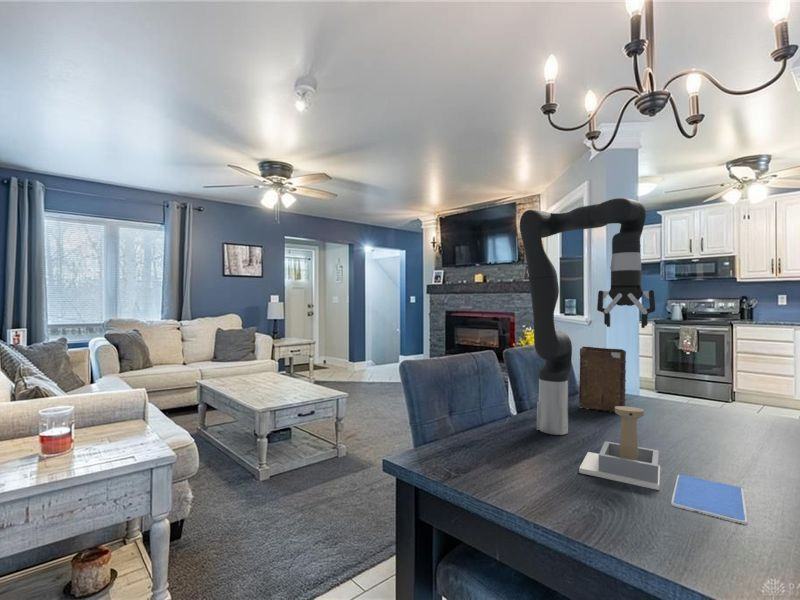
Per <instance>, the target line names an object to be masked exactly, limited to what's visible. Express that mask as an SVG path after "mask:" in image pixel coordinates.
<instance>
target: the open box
mask: <svg viewBox="0 0 800 600" xmlns="http://www.w3.org/2000/svg"><path fill="white" fill-rule="evenodd" d="M659 452H660V451H659V450H658V449H652V448H647V447H640V446H638V458H637V461H636V460H631V459H626V458H621V456H620V442H619V443H618V442H612V441H607V440H605V441H604V442H603V445H602V446H601V449H600V451H599V453H596V452H590V451H587V453H586V455H585V457H584V458H583V461H581V462H582V463H581V464H580V466H579V468H578V469H579V472H578V473H580V474H583V475H588V476H593V477H598V478H602V479H606V480H611V481H616V482H619V483H625V484H629V485H634V486H639V487H643V488H647V489H653V490H658V491H660V483H661V482H660V479H661V465H660V464H659V462H660V459H659V458H660V455H659Z"/></svg>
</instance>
